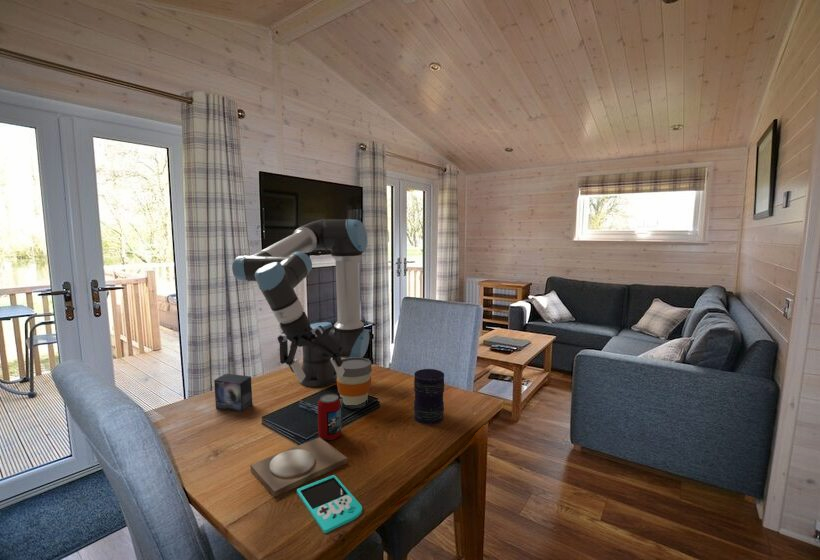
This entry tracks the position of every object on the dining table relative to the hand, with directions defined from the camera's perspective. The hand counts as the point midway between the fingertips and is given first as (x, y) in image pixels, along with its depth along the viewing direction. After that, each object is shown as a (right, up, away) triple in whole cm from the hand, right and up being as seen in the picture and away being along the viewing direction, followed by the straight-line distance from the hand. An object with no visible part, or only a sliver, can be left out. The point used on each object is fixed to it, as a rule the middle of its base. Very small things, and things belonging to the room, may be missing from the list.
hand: (322, 377), depth 117 cm
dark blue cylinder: (+32, -17, +13) cm, 39 cm away
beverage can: (+2, -18, +2) cm, 18 cm away
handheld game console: (+8, -23, -27) cm, 36 cm away
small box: (-35, -15, +20) cm, 43 cm away
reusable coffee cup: (+6, -15, +23) cm, 29 cm away
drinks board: (-3, -20, -14) cm, 24 cm away
